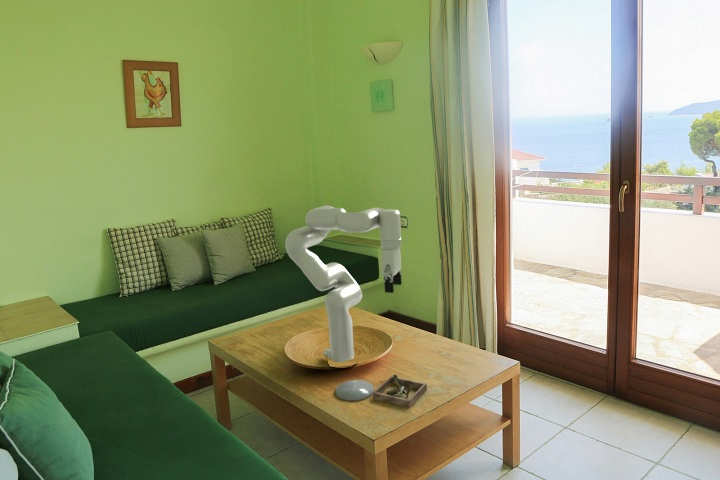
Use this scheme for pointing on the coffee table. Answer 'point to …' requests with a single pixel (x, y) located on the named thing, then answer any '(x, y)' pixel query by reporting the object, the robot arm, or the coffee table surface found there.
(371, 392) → the grey round plate
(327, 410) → the coffee table surface
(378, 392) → the walnut frame
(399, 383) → the eagle figurine
